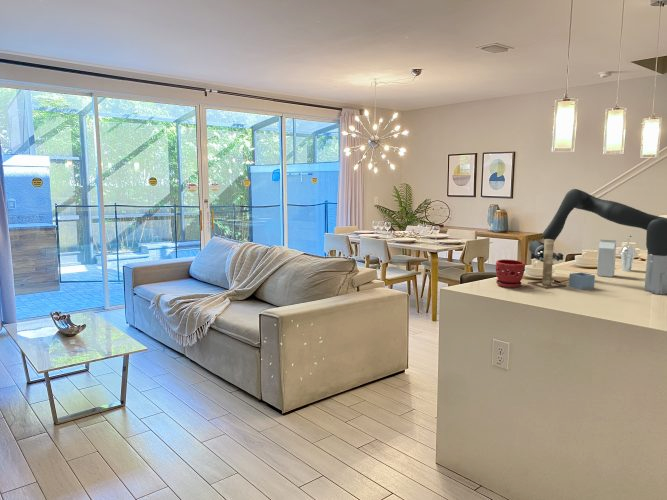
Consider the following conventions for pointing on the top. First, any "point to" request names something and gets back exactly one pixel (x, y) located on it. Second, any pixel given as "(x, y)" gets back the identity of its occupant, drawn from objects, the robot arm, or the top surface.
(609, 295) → the top surface
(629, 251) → the cup with straw
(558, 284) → the walnut tray
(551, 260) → the oak dowel
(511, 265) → the plant pot
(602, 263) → the milk carton
